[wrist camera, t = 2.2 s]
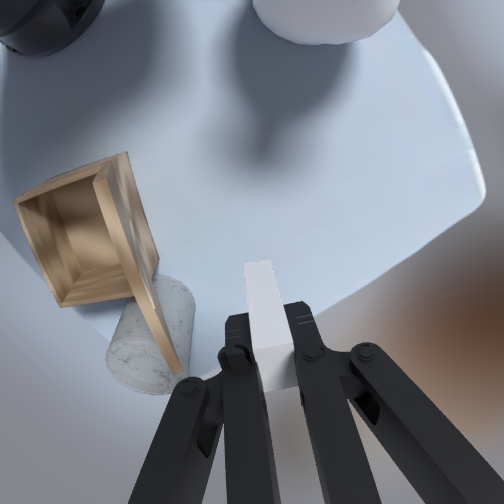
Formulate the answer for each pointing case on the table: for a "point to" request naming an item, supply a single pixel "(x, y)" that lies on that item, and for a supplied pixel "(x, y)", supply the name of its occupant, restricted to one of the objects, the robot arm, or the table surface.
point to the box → (82, 234)
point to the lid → (133, 260)
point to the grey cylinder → (152, 340)
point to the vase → (325, 19)
